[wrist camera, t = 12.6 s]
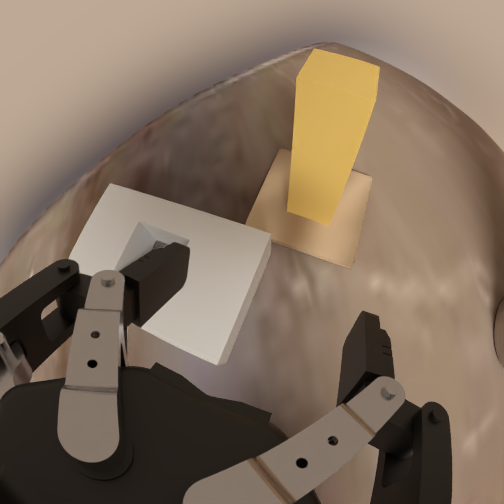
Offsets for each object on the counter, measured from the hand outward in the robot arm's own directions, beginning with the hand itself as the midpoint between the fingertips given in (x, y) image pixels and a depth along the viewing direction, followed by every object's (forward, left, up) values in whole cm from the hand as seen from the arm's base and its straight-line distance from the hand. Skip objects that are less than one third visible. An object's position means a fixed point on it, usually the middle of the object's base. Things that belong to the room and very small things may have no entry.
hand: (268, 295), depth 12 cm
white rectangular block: (+10, -1, -11) cm, 15 cm away
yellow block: (0, -12, -10) cm, 15 cm away
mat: (0, -12, -11) cm, 16 cm away
